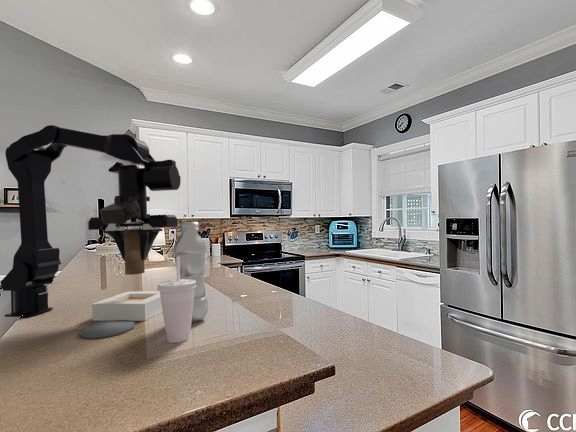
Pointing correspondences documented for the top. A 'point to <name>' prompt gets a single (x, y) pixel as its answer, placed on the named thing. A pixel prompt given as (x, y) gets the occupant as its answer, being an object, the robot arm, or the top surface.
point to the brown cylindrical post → (133, 252)
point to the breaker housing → (128, 307)
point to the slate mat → (107, 329)
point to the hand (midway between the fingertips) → (134, 260)
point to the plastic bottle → (193, 265)
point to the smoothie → (177, 306)
